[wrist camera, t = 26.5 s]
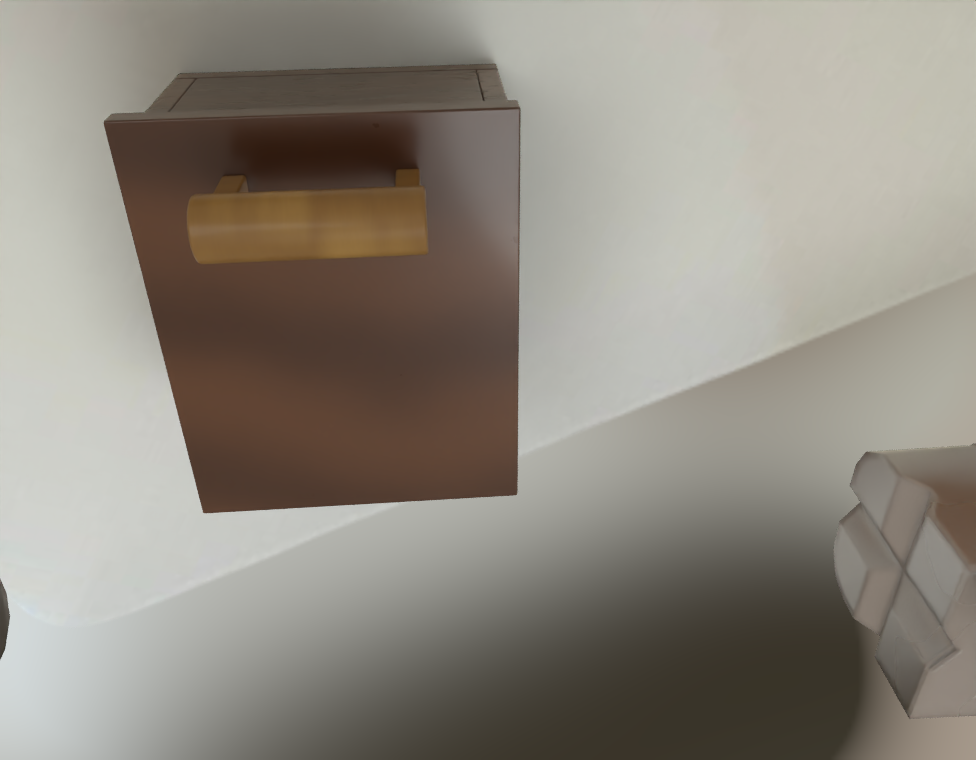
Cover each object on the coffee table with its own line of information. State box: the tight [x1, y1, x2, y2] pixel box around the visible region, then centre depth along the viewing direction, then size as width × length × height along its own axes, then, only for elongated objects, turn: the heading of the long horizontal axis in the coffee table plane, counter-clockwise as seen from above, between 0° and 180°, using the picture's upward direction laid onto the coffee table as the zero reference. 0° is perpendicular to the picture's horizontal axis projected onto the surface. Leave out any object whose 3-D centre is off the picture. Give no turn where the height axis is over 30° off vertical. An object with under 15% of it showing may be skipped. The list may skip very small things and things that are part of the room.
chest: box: [145, 64, 508, 112], centre depth 32 cm, size 14×12×8 cm
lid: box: [104, 100, 520, 513], centre depth 27 cm, size 14×12×5 cm
